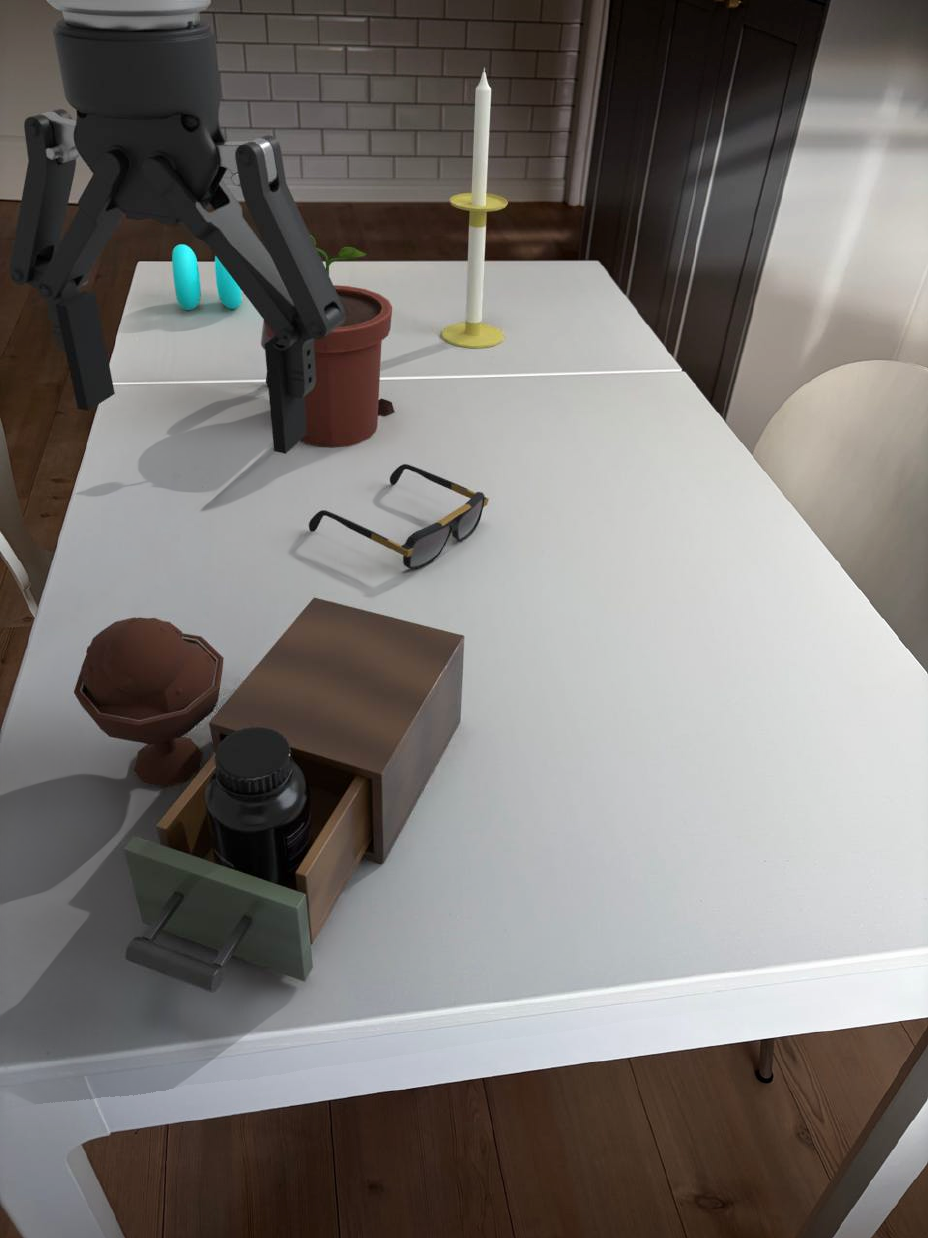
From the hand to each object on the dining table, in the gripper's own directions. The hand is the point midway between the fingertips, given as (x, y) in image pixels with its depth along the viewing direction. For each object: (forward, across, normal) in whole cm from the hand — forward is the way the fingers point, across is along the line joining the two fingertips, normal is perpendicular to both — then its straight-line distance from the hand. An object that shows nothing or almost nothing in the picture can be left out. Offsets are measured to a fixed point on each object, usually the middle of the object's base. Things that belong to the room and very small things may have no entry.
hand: (191, 422), depth 60 cm
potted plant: (+32, +23, -62) cm, 73 cm away
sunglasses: (+32, +3, -40) cm, 51 cm away
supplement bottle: (+30, -7, +8) cm, 32 cm away
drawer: (+31, -7, +9) cm, 33 cm away
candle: (+32, +15, -97) cm, 103 cm away
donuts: (+32, +58, -90) cm, 112 cm away
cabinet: (+32, -7, -5) cm, 33 cm away
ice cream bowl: (+32, +7, 0) cm, 33 cm away
